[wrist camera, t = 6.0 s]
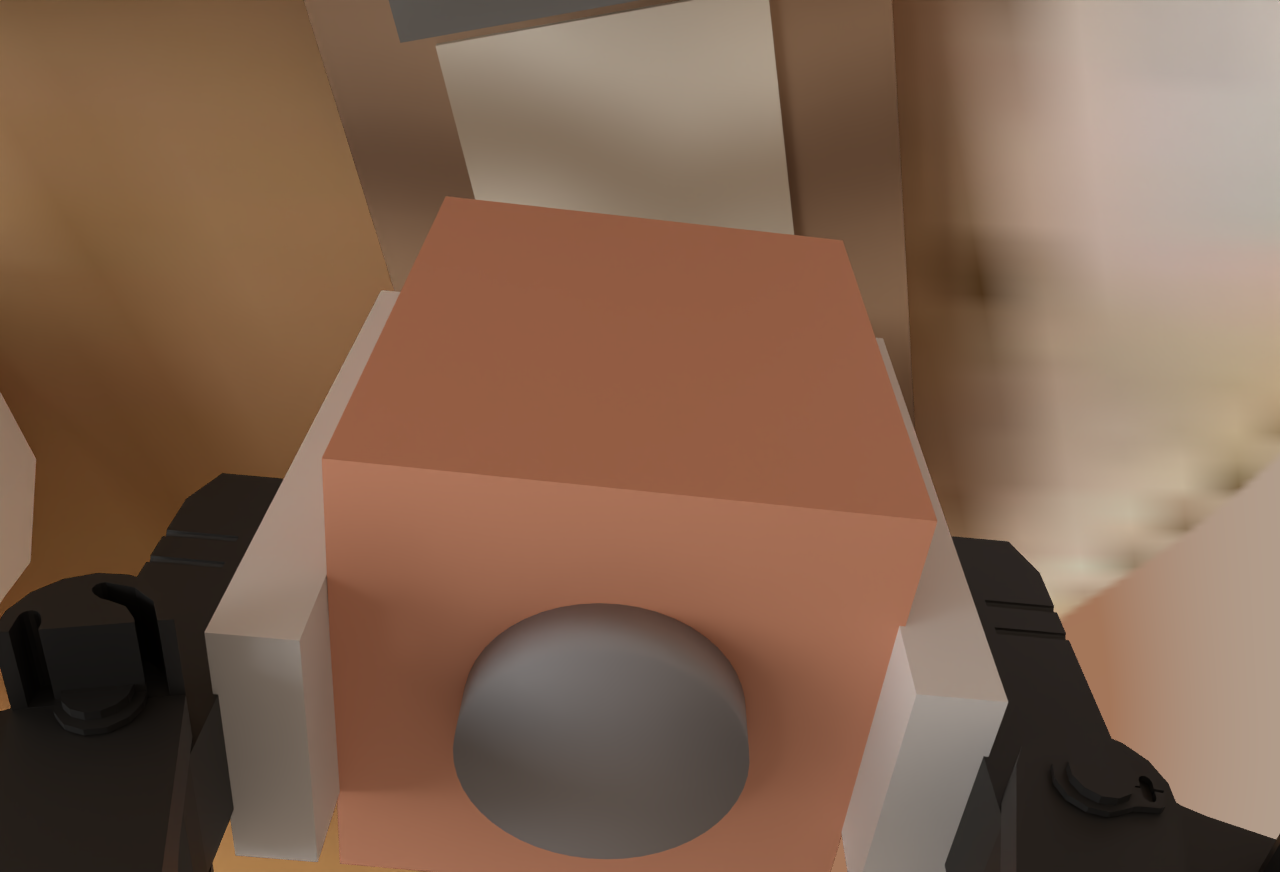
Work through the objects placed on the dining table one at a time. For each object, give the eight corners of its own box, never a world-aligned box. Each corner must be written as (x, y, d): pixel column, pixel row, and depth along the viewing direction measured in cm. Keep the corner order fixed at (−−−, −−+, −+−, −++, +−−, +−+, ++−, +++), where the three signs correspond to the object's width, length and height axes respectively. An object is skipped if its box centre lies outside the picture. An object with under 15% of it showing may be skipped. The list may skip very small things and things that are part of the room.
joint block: (439, 520, 17) (324, 915, 11) (446, 196, 14) (300, 502, 9) (775, 553, 17) (826, 958, 11) (842, 240, 14) (953, 567, 9)
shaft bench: (208, -376, 20) (25, -414, 14) (851, -519, 19) (937, -623, 13) (487, 541, 30) (448, 733, 24) (910, 485, 29) (971, 673, 23)
